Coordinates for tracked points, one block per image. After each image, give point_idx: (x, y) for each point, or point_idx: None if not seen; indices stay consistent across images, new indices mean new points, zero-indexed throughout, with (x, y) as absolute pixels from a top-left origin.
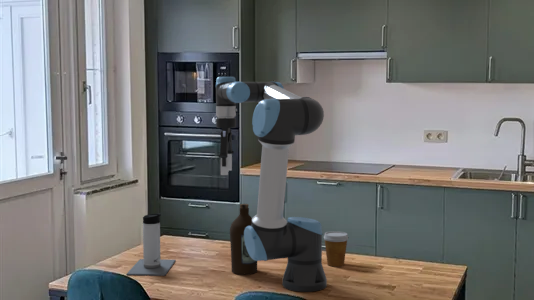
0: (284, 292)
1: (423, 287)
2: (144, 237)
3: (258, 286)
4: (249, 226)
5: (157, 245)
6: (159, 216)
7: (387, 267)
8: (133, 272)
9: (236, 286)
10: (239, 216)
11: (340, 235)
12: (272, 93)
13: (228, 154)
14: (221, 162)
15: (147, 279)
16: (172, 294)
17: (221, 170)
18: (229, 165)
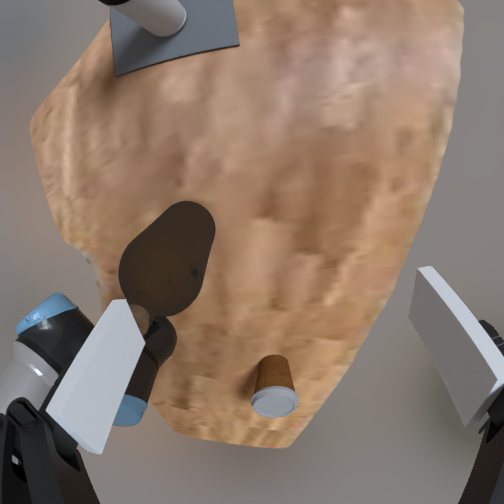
0: (103, 308)
1: (193, 425)
2: None
3: (111, 270)
4: (17, 330)
5: (138, 23)
6: None
7: None
8: (118, 14)
9: (97, 235)
10: (130, 287)
11: (269, 410)
12: None
13: (476, 405)
14: (69, 380)
15: (91, 59)
16: (36, 148)
17: (99, 329)
18: (428, 330)
